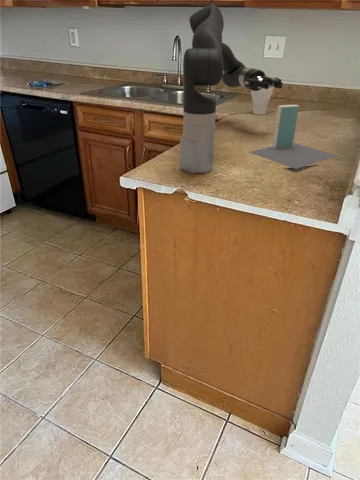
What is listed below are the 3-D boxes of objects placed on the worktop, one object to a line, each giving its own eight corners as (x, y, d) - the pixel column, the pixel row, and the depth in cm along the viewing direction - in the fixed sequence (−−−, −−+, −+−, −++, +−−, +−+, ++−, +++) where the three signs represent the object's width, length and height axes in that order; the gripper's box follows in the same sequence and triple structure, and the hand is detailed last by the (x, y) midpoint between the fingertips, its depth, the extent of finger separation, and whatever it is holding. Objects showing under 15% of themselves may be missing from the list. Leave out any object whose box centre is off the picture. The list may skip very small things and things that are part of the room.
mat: (295, 172, 115) (295, 168, 115) (248, 155, 129) (248, 151, 129) (337, 159, 127) (338, 155, 126) (290, 144, 141) (290, 141, 140)
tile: (272, 146, 134) (277, 105, 127) (289, 145, 136) (295, 104, 129) (275, 148, 132) (281, 106, 125) (293, 146, 134) (299, 105, 127)
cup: (269, 116, 182) (273, 86, 175) (247, 115, 183) (250, 85, 177) (269, 111, 191) (273, 83, 184) (248, 110, 192) (251, 82, 186)
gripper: (236, 69, 143) (257, 74, 129) (269, 68, 147) (294, 73, 133) (234, 90, 147) (255, 97, 133) (267, 88, 151) (290, 96, 137)
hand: (274, 85), depth 133 cm, fingers open, 4 cm apart
